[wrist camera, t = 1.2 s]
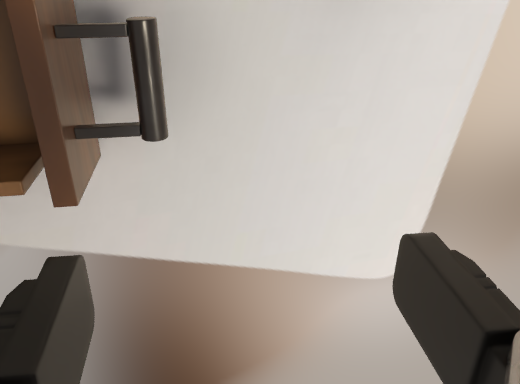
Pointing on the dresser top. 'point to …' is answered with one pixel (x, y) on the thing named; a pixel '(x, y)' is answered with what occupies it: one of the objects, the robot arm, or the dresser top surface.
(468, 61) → the dresser top surface
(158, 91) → the drawer
